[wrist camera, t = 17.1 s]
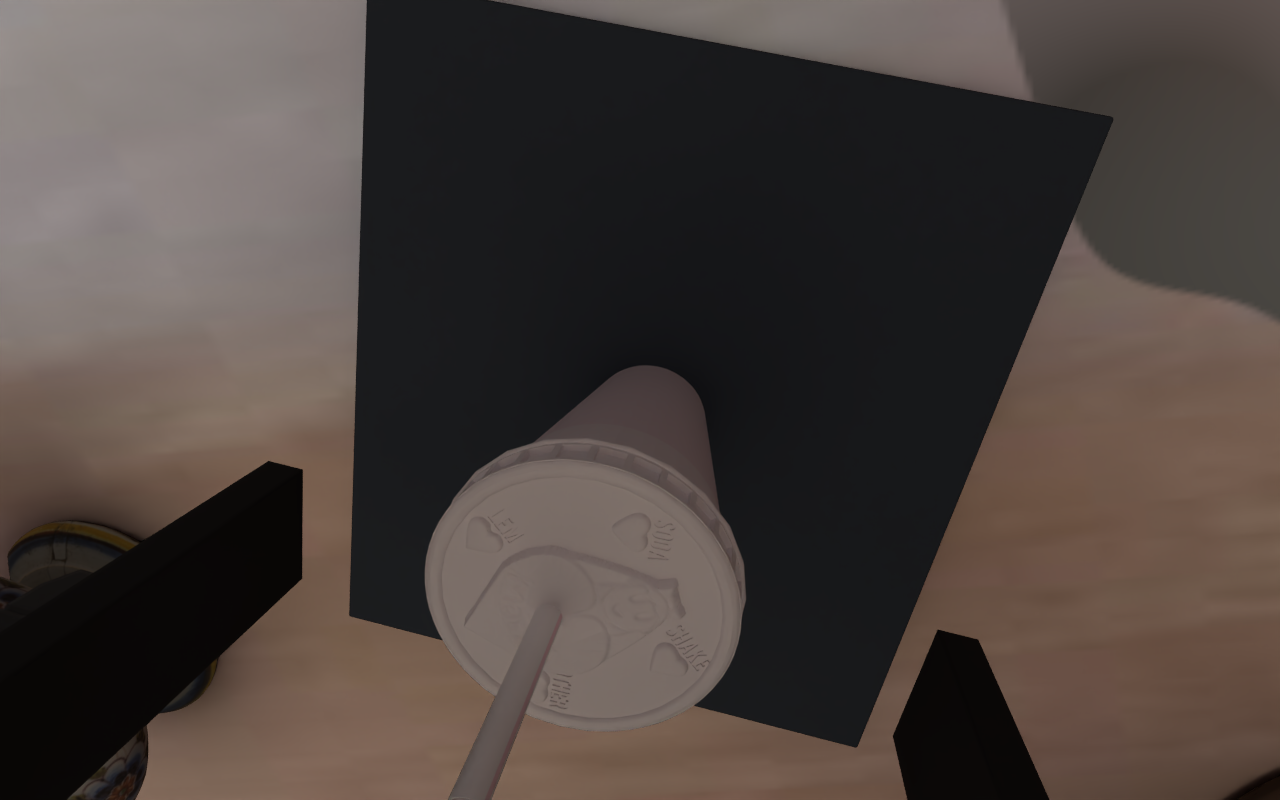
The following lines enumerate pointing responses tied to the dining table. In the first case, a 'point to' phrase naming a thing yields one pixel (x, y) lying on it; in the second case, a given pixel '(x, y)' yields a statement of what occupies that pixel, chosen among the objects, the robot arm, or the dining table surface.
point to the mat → (698, 303)
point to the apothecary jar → (90, 549)
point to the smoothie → (590, 571)
